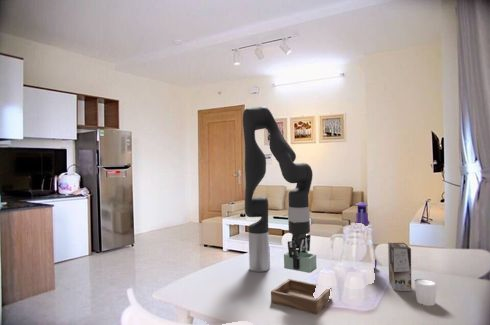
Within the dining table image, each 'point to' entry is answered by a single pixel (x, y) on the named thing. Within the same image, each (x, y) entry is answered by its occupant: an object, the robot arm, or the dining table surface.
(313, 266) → the sage crate
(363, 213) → the lantern
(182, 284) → the dining table surface
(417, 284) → the white cup
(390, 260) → the coffee box
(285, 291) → the walnut crate
